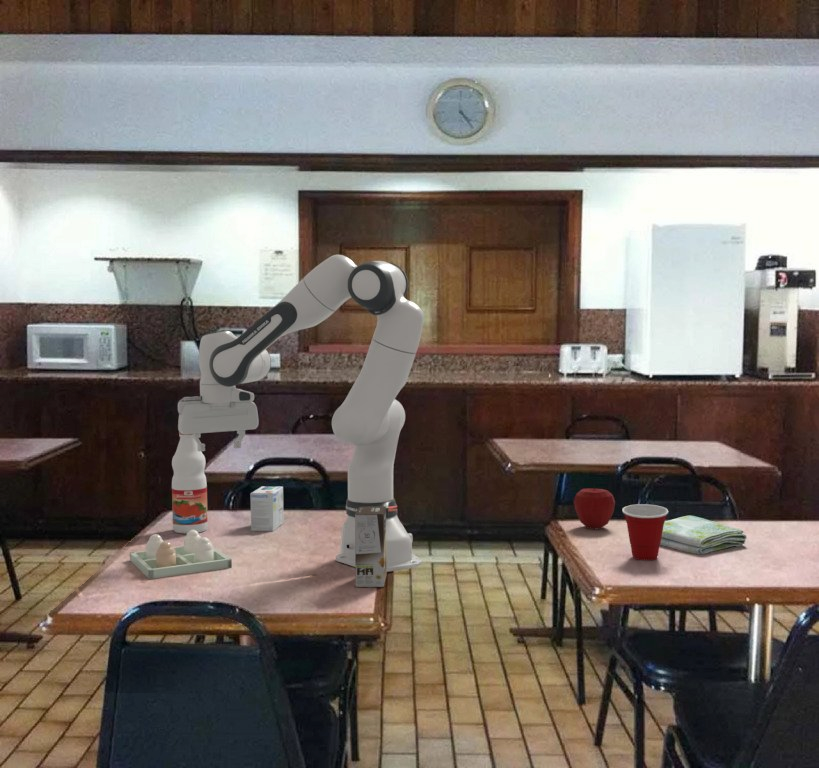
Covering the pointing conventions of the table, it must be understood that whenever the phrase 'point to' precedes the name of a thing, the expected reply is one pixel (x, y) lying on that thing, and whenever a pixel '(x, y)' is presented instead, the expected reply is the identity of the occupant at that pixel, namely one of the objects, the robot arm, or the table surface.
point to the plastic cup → (645, 529)
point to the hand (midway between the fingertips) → (219, 449)
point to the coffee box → (370, 546)
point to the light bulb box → (266, 508)
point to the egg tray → (179, 564)
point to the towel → (699, 535)
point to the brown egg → (165, 555)
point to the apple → (594, 507)
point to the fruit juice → (189, 487)
